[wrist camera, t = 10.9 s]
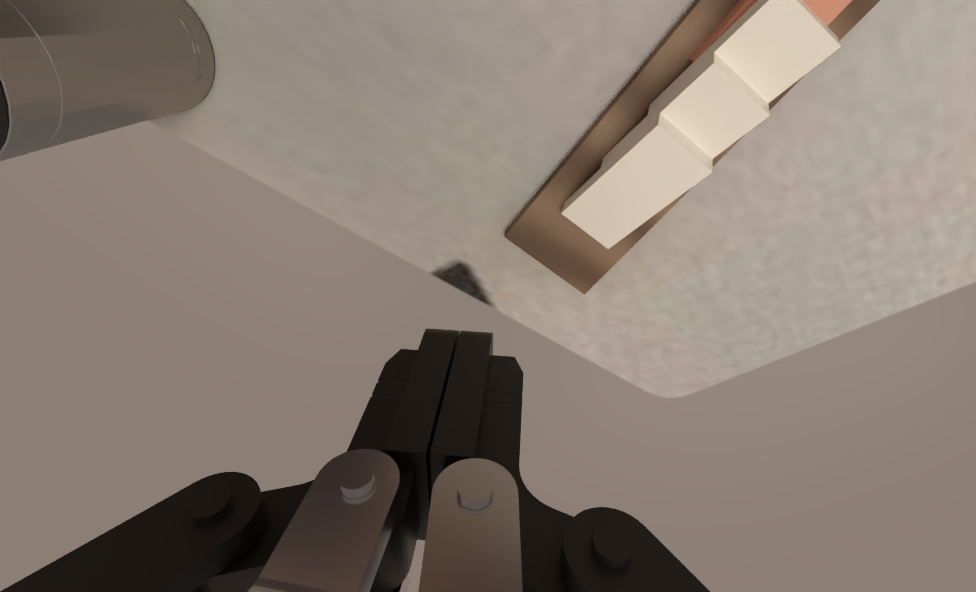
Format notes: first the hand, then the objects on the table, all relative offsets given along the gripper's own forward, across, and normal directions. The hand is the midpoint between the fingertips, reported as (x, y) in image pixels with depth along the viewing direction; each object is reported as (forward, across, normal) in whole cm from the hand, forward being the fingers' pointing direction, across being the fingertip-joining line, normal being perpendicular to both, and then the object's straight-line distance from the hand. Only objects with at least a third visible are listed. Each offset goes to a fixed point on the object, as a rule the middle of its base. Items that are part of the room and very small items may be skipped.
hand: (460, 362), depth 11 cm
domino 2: (+29, -9, +4) cm, 31 cm away
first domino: (+29, -6, +8) cm, 31 cm away
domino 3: (+29, -12, 0) cm, 31 cm away
